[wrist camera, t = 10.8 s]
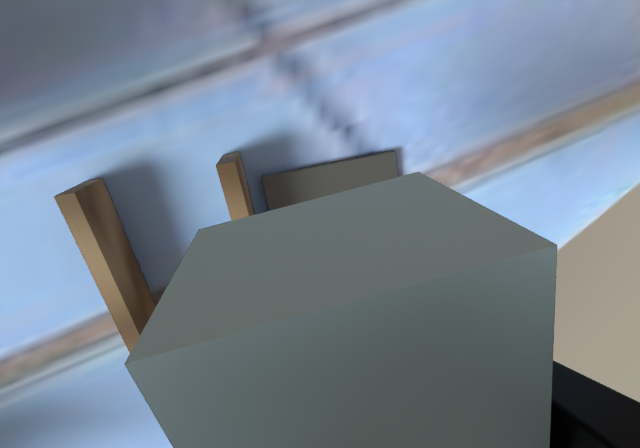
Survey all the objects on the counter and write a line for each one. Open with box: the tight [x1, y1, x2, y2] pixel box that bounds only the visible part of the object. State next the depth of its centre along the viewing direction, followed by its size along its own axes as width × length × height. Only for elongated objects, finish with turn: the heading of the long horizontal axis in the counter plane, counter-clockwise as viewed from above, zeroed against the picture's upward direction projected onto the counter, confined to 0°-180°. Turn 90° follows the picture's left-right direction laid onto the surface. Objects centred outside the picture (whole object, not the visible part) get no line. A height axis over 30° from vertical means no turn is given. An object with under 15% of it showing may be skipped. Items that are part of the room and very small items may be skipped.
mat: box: [262, 150, 398, 211], centre depth 19 cm, size 9×7×1 cm
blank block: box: [125, 172, 557, 448], centre depth 7 cm, size 6×5×4 cm
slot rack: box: [54, 152, 255, 353], centre depth 18 cm, size 13×7×3 cm, turn 9°
